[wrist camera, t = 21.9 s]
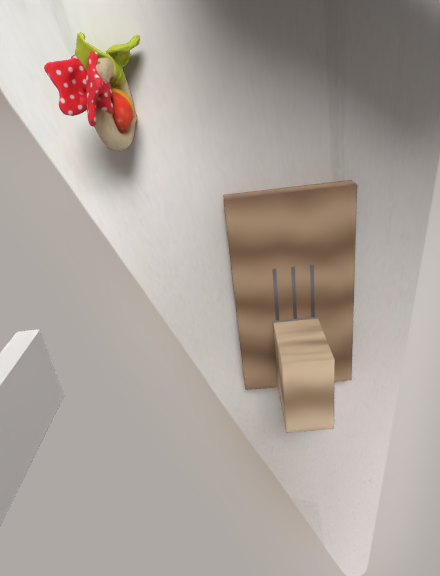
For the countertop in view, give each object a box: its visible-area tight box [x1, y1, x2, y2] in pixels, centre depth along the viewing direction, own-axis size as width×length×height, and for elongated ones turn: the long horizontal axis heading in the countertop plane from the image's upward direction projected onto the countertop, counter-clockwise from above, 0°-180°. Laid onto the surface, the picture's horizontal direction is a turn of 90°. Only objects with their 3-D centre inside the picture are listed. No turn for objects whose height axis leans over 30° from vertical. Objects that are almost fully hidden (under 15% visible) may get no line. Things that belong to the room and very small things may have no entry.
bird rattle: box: [44, 32, 140, 150], centre depth 35 cm, size 6×11×9 cm
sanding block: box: [273, 317, 335, 433], centre depth 46 cm, size 9×5×8 cm, turn 7°
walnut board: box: [224, 180, 357, 390], centre depth 47 cm, size 24×13×2 cm, turn 7°
